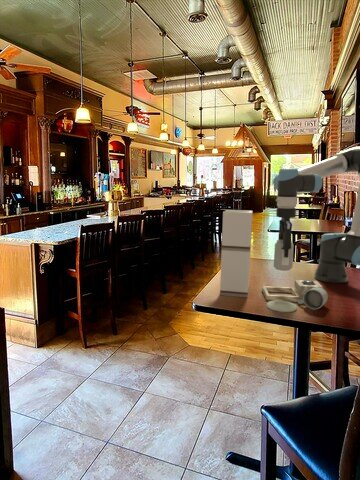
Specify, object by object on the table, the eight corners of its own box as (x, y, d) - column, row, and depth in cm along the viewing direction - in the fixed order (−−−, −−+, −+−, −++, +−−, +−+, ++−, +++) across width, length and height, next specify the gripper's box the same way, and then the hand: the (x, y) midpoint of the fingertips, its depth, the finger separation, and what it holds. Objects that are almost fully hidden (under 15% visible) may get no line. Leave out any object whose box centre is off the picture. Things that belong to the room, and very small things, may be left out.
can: (278, 265, 157) (279, 238, 155) (295, 268, 152) (296, 240, 150) (270, 269, 151) (271, 240, 149) (287, 272, 146) (289, 242, 144)
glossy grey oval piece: (311, 291, 154) (312, 280, 153) (313, 294, 150) (314, 282, 149) (301, 291, 154) (302, 279, 153) (303, 294, 150) (304, 282, 149)
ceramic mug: (328, 305, 142) (329, 286, 141) (322, 311, 136) (324, 291, 135) (300, 300, 148) (301, 282, 147) (294, 306, 142) (295, 286, 141)
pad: (293, 303, 145) (293, 301, 144) (299, 312, 134) (299, 310, 134) (265, 301, 146) (265, 299, 145) (269, 311, 135) (269, 309, 135)
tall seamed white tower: (248, 290, 161) (252, 210, 155) (247, 297, 151) (251, 212, 145) (222, 287, 163) (225, 209, 158) (219, 295, 153) (223, 211, 147)
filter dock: (314, 292, 158) (315, 279, 158) (323, 303, 145) (324, 288, 144) (262, 290, 160) (262, 277, 160) (266, 300, 147) (267, 285, 146)
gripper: (272, 205, 158) (270, 257, 161) (281, 209, 138) (278, 268, 141) (290, 205, 157) (287, 257, 161) (301, 209, 137) (298, 268, 141)
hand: (283, 262), depth 151 cm, fingers closed on can, 7 cm apart
